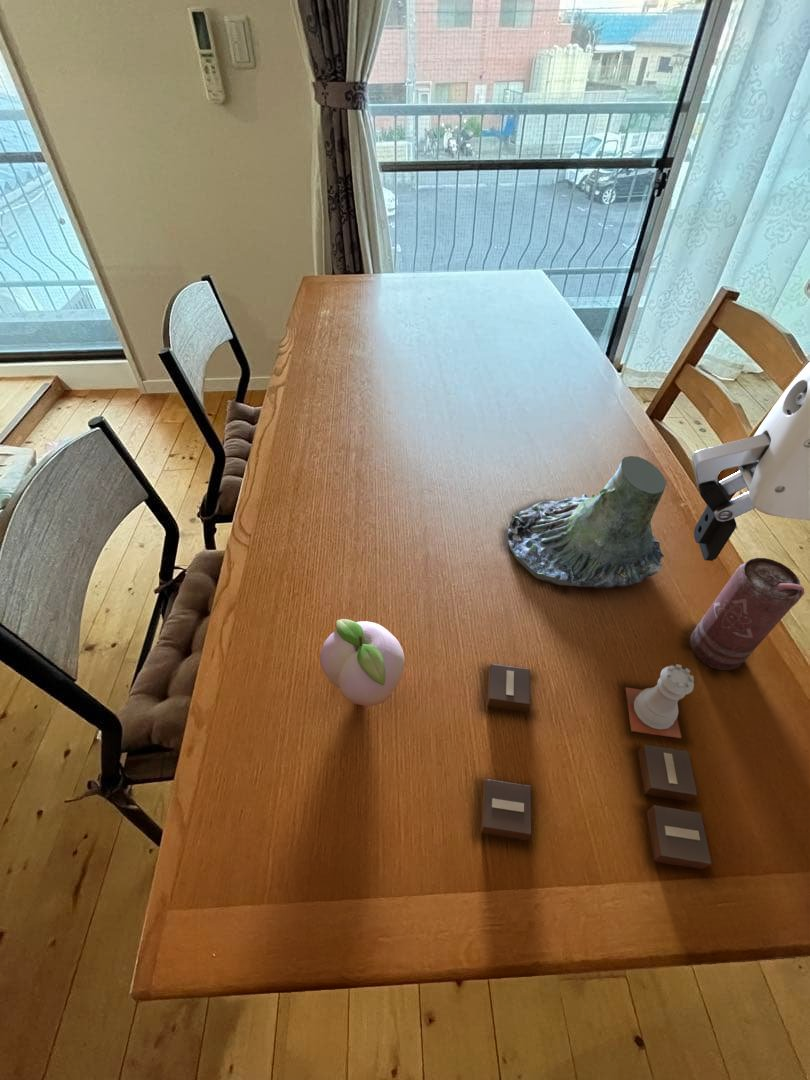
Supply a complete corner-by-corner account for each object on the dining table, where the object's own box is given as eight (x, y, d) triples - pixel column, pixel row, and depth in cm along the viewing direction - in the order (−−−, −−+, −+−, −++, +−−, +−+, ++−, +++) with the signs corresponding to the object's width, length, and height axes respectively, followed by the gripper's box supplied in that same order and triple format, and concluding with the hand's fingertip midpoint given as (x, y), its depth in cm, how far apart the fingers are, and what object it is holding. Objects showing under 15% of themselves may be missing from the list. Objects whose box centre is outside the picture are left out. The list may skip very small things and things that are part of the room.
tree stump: (528, 487, 88) (585, 396, 74) (642, 552, 85) (722, 469, 72) (486, 559, 76) (545, 466, 62) (617, 637, 73) (707, 557, 60)
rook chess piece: (656, 688, 63) (683, 650, 57) (683, 723, 60) (714, 687, 55) (624, 701, 62) (648, 663, 56) (649, 737, 59) (677, 701, 53)
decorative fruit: (420, 689, 63) (424, 640, 56) (365, 737, 59) (361, 691, 52) (366, 637, 67) (363, 586, 60) (312, 679, 64) (302, 629, 56)
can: (746, 679, 64) (812, 607, 54) (688, 663, 66) (743, 590, 56) (742, 638, 68) (803, 563, 58) (688, 623, 70) (738, 548, 60)
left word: (527, 841, 52) (531, 834, 51) (480, 833, 53) (483, 826, 51) (526, 677, 64) (530, 668, 63) (488, 672, 64) (491, 662, 63)
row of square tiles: (707, 870, 51) (717, 864, 49) (649, 860, 51) (657, 854, 50) (671, 694, 63) (679, 685, 61) (625, 688, 63) (631, 678, 62)
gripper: (781, 363, 28) (661, 578, 41) (1158, 396, 27) (914, 608, 39) (741, 301, 33) (646, 508, 46) (1055, 325, 32) (868, 533, 44)
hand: (769, 554), depth 42 cm, fingers open, 9 cm apart
